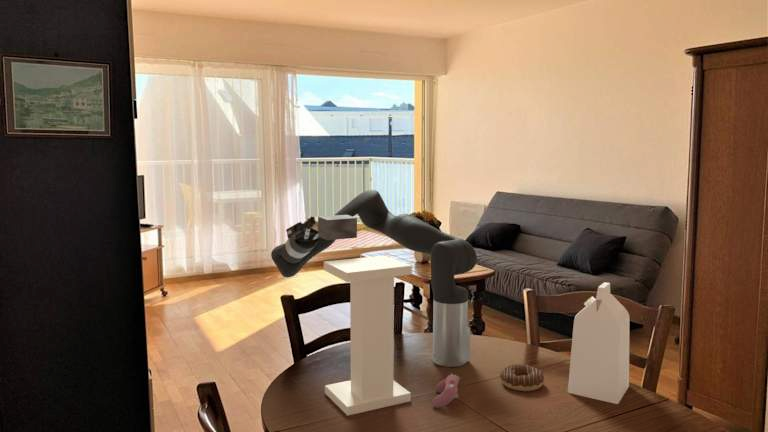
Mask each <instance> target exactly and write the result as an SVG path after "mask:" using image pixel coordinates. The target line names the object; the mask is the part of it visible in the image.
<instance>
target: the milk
mask: <svg viewBox="0 0 768 432" xmlns="http://www.w3.org/2000/svg"><path fill="white" fill-rule="evenodd" d="M595 296H596V297H594V296H590V298H588V299H587V300H586V301H584V303H583V305H584V306H585V307H583V308H582V309H581V310H580V311H579V312H578V313H577V314H575V316H574V319H573V328H572V336H571V337H572V338H571V339H572V340H571V348H570V349H571V351H570V352H571V353H570V360H569V364H570V365H569V371H568V373H569V374H568V382H567V383H568V385H567V394H572V395H576V396H579V397H585V398H589V399H593V400H598V401H603V402H607V403H610V404H611V403H612V404H615V405H618V404H620V402H621V400H622V398H623V397H624V395H626V394H625V393H626V392H627V390H628V389H629V387H630V314H629V312H628V310H627V309H626V307H625V306H624V305H623V304H621V302H620V301H619V300H618V299H617V298H616V297H615V296H614V295H613V294H612V293H611V283H610V282H605V281H604V282H603V283H601V284H600V285H598V287H597V292H596V295H595Z"/></svg>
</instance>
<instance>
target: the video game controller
mask: <svg viewBox="0 0 768 432" xmlns="http://www.w3.org/2000/svg"><path fill="white" fill-rule="evenodd" d="M460 380H461V377H460V376H459V375H457V374H453V373H450V374H448V375H447V376H446V378H445V379H442V380H441V381H439V382H437V384H436V386H435V392H437V393H440V394H438V395H436V396H435V397H434V398H433V399H432V401H431V406H432V407H433V408H434V409H435V408H436V409H438V408H439V409H441V408H443V407H445V406H447V405H450V403H452V402H453V400H454V399H458V397H459V393H458V390H459V388H458V385H459V382H460Z"/></svg>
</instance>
